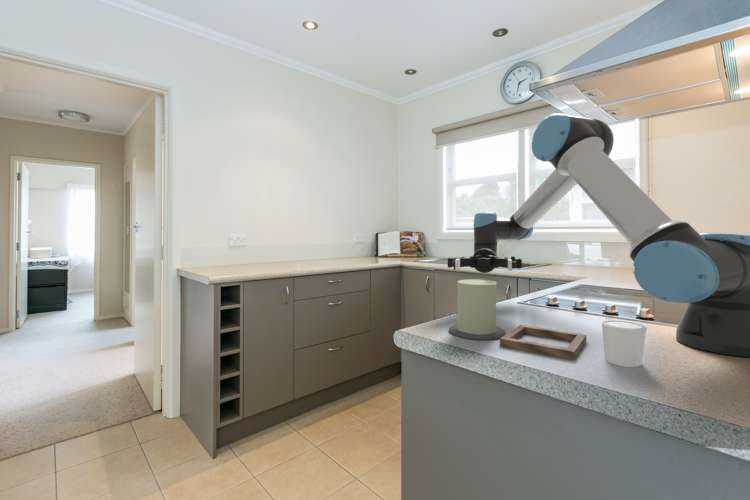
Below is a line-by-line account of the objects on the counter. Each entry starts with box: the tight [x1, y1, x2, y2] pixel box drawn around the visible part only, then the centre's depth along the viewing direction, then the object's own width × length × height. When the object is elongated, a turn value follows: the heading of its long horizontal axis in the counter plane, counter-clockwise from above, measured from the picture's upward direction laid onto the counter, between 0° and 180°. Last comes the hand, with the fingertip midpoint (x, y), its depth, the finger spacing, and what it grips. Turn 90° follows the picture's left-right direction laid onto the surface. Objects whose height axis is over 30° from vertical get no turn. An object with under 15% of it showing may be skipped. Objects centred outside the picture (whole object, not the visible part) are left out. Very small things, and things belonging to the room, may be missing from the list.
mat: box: [448, 323, 507, 341], centre depth 88 cm, size 13×13×1 cm
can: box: [456, 278, 498, 335], centre depth 88 cm, size 9×9×12 cm
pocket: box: [499, 324, 587, 361], centre depth 79 cm, size 14×14×2 cm
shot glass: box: [601, 320, 648, 368], centre depth 68 cm, size 7×7×7 cm
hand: (482, 265), depth 97 cm, fingers open, 13 cm apart
